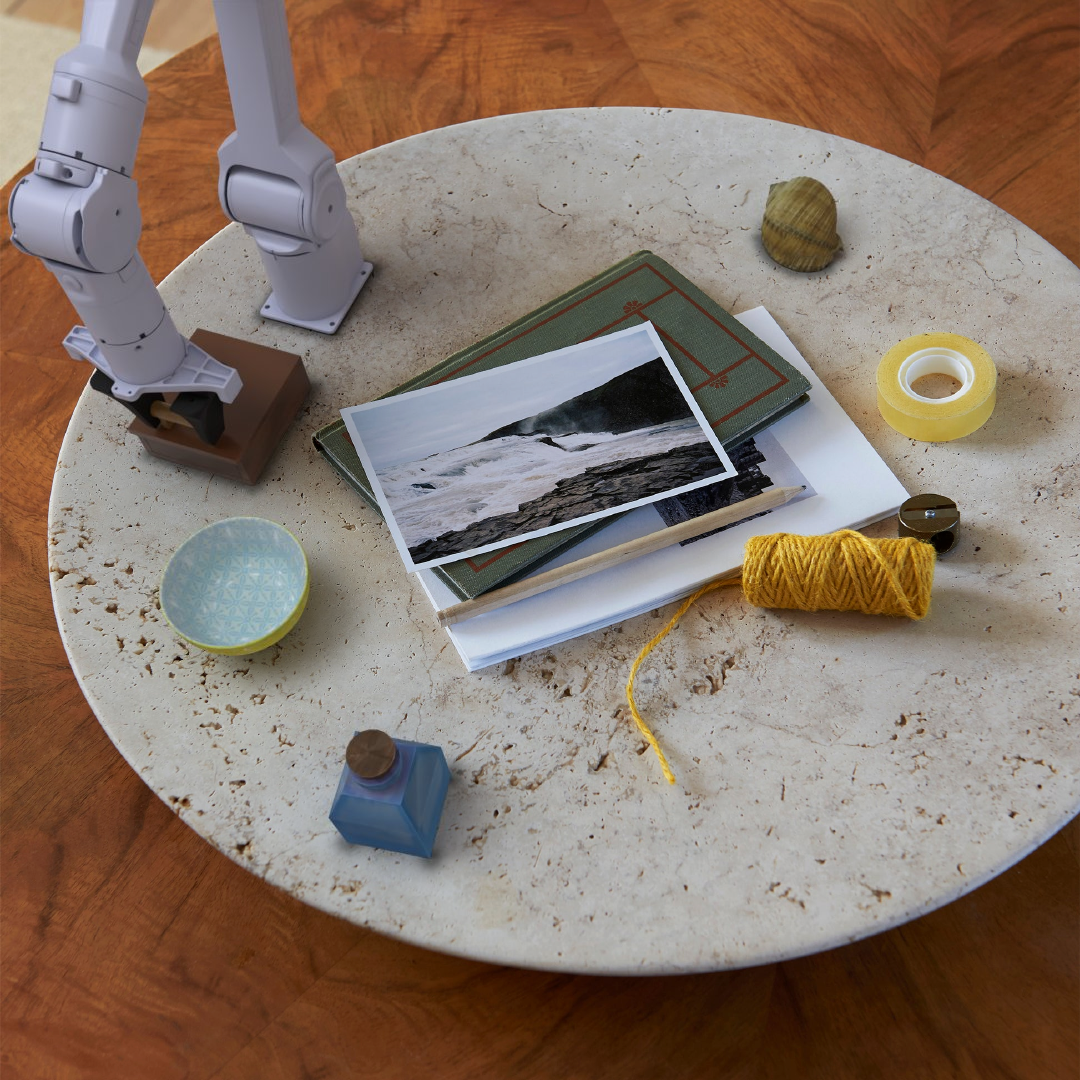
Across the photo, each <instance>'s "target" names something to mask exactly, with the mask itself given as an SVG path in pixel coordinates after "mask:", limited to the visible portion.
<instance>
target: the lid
mask: <svg viewBox="0 0 1080 1080" xmlns="http://www.w3.org/2000/svg"><path fill="white" fill-rule="evenodd" d="M188 340H190V341H191V342H192V343H194V344H195V345H196V346H198V347H199V348H201V349H202V350H203V351H205V352H206V353H207V354H209V355H210V356H211V357H213V358H214V359H216V360H217V361H219V362H222V363H225V364H226V365H227V366H228V367H231V368H234V369H236V370H237V372H238V374H239V377H240V379H241V381H242V383H243V386H242V388H241V389H240V391H239V393H238V394H237V396H236V398H235V399H234V400H233V402H232V403H231V404H230V403H226V402H223V414H224V423H225V430H224V432H223V433H222V435H221V437H220V438H219V440H218V441H217V443H216V444H215V445H214V446H211V445H208V444H206V443H205V442H204V441H203V440H202V439H201V438H200V437H199V435H198V434H197V432H196V431H195V429H194V428H193V427H192V425H191V424H190V423H189V422H188V421H186V420H185V419H184V418H183V417H181V416H179V415H178V414H175V413H173V412H171V411H170V409H169V408H170V406H171V405H172V403H173V402H174V400H175V399H176V397H177V396H178V394H179V393H180V392H162V394H163V396H164V399H165V401H166V403H165V402H162V401H158V400H156V401H154V402H153V403H152V405H151V408H150V413H151V415H152V416H154V417H157V418H159V420H160V422H161V423H160V424H159V426H158V427H157V429H154V428H151V427H149V426H147V425H146V424H145V423H143V422H142V421H141V420H140V419H139V418H138V417H137V416H135V417H134V419H132V422H131V423H130V424H129V426H128V427H127V428H126V429H127V431H128V433H129V434H131V435H135V436H137V435H138V436H141V437H144V438H148V439H151V440H154V441H158V442H161V443H164V444H168V445H171V446H175V447H178V448H181V449H185V450H188V451H191V452H195V453H198V454H201V455H205V456H208V457H212V458H215V459H218V460H222V461H225V462H228V463H232V464H235V465H238V464H239V462H240V461H241V459H242V457H243V456H244V454H245V453H246V451H247V449H248V448H249V446H250V444H251V443H252V441H253V439H254V438H255V436H256V435H257V433H258V431H259V430H260V428H261V426H262V425H263V423H264V422H265V420H266V418H267V417H268V415H269V413H270V412H271V410H272V408H273V407H274V405H275V404H276V402H277V400H278V399H279V397H280V395H281V394H282V392H283V391H284V389H285V387H286V386H287V384H288V382H289V381H290V379H291V377H292V376H293V374H294V373H295V371H296V369H297V368H298V366H299V364H300V363H301V361H303V357H302V355H299V354H296V353H293V352H288V351H285V350H281V349H278V348H275V347H271V346H266V345H263V344H262V345H261V344H259V343H256V342H252V341H247V340H244V339H240V338H236V337H233V336H229V335H225V334H222V333H218V332H216V331H215V332H214V331H211V330H207V329H204V328H199V327H197V328H195V330H194V332H193V333H192V334H191V336H190V337H189V339H188ZM138 436H137V437H138Z"/></svg>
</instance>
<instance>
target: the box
mask: <svg viewBox="0 0 1080 1080" xmlns="http://www.w3.org/2000/svg"><path fill="white" fill-rule="evenodd" d="M312 388H313V386H312V384H311V381H310V378H309V375H308V373H307V370H306V366H305V364H304V361H303V360H302V361H301V363H300V364H299V366H298V368H297V369H296V371H295V373H294V374H293V376H292V377H291V379H290V381H289V382H288V384H287V386H286V387H285V389H284V391H283V392H282V394H281V395H280V397H279V399H278V400H277V402H276V404H275V405H274V407H273V408H272V410H271V412H270V413H269V415H268V417H267V418H266V420H265V422H264V423H263V425H262V426H261V428H260V430H259V431H258V433H257V435H256V436H255V438H254V439H253V441H252V443H251V444H250V446H249V448H248V449H247V451H246V453H245V454H244V456H243V457H242V459H241V461H240V462H239V464H238V465H235V464H232V463H228V462H225V461H222V460H218V459H215V458H212V457H208V456H205V455H201V454H198V453H195V452H191V451H188V450H185V449H181V448H178V447H175V446H171V445H168V444H164V443H161V442H158V441H154V440H151V439H148V438H144V437H141V436H138V435H136V437H137V438H138V439H139V441H140V442H141V444H142V446H143V447H144V449H145V451H146V453H147V454H148V455H149V456H152V457H155V458H159V459H163V460H165V461H168V462H172V463H175V464H179V465H182V466H185V467H188V468H192V469H196V470H198V471H202V472H205V473H209V474H212V475H215V476H219V477H222V478H225V479H229V480H231V481H234V482H239V483H242V484H245V485H248V486H251V487H253V486H254V485H255V484H256V482H257V480H258V479H259V478H260V475H261V474H262V473H263V471H264V468H265V467H266V465H267V464H268V462H269V460H270V458H271V457H272V455H273V453H274V452H275V450H276V448H277V447H278V445H279V443H280V442H281V440H282V438H283V437H284V435H285V433H286V432H287V430H288V429H289V427H290V425H291V423H292V421H293V420H294V418H295V417H296V415H297V413H298V411H299V410H300V408H301V407H302V405H303V403H304V401H305V400H306V399H307V396H308V395H309V393H310V392H311V389H312Z"/></svg>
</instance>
